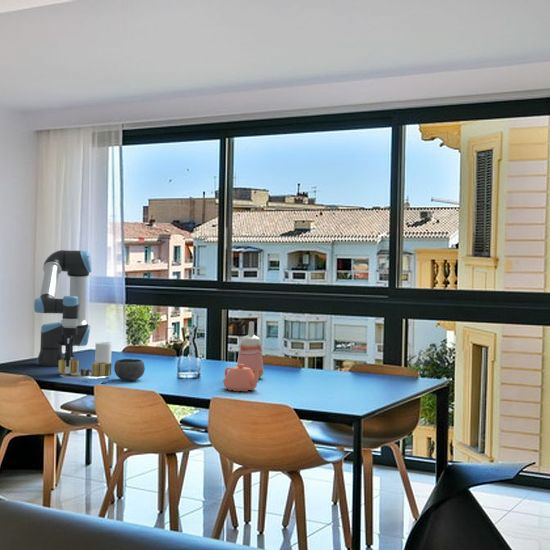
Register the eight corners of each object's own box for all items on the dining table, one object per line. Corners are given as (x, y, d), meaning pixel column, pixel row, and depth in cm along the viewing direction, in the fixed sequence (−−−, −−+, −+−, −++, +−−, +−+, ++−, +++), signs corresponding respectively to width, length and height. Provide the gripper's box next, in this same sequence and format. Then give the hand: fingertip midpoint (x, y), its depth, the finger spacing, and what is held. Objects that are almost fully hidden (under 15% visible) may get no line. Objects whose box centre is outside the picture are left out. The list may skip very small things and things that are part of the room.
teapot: (270, 391, 373) (271, 365, 373) (251, 395, 360) (252, 368, 360) (232, 385, 385) (233, 360, 385) (213, 389, 372) (214, 363, 372)
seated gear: (90, 374, 398) (90, 362, 397) (109, 373, 401) (109, 361, 401) (92, 376, 389) (93, 364, 388) (112, 376, 392) (112, 364, 392)
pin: (66, 374, 393) (66, 365, 393) (70, 374, 393) (71, 365, 393) (65, 375, 391) (66, 366, 391) (70, 375, 391) (70, 366, 391)
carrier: (62, 374, 403) (62, 362, 403) (110, 374, 407) (110, 363, 407) (57, 381, 380) (57, 369, 380) (108, 381, 384) (108, 369, 384)
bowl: (144, 382, 385) (145, 362, 385) (113, 382, 383) (113, 361, 383) (144, 378, 400) (144, 358, 400) (114, 377, 397) (115, 358, 397)
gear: (59, 370, 396) (59, 358, 396) (79, 370, 398) (79, 359, 398) (57, 373, 387) (57, 361, 387) (77, 373, 388) (77, 361, 388)
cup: (106, 374, 407) (107, 344, 407) (92, 373, 408) (93, 343, 408) (113, 372, 415) (114, 342, 415) (98, 371, 416) (99, 341, 416)
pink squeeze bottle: (246, 375, 423) (248, 320, 422) (268, 378, 414) (270, 322, 414) (230, 378, 411) (232, 321, 410) (252, 381, 402) (254, 323, 402)
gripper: (64, 324, 402) (62, 368, 402) (59, 328, 380) (58, 374, 381) (79, 325, 403) (77, 368, 404) (75, 329, 381) (74, 375, 382)
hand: (68, 371), depth 392 cm, fingers closed on gear, 10 cm apart
